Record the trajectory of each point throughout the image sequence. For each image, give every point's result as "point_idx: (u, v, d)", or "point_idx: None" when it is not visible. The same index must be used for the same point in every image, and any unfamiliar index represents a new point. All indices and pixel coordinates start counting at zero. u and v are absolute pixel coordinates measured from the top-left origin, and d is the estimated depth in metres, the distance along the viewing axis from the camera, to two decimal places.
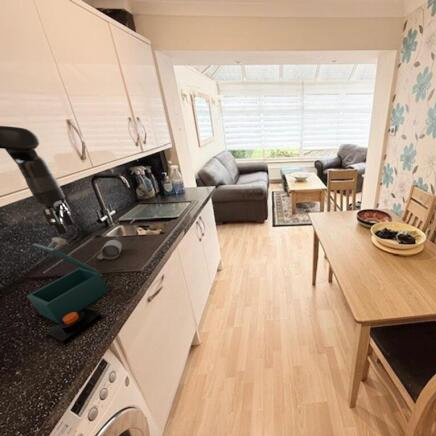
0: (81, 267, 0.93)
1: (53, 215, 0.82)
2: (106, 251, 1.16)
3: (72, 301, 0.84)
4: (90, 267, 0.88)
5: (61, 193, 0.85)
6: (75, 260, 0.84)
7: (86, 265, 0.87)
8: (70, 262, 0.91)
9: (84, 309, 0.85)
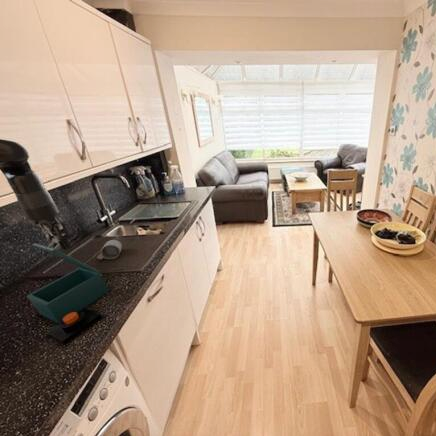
0: (81, 267, 0.93)
1: (65, 229, 0.80)
2: (106, 251, 1.16)
3: (72, 301, 0.84)
4: (90, 267, 0.88)
5: None
6: (75, 260, 0.84)
7: (86, 265, 0.87)
8: (70, 262, 0.91)
9: (84, 309, 0.85)
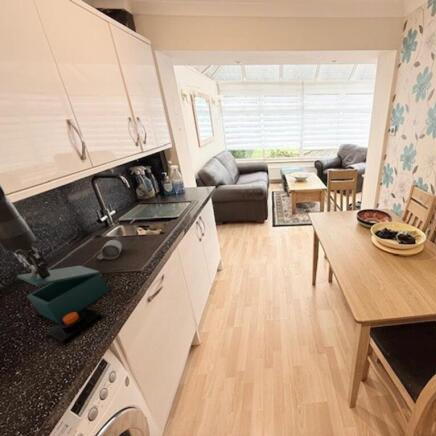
0: None
1: (43, 258, 0.76)
2: (106, 251, 1.16)
3: (72, 301, 0.84)
4: (87, 274, 0.88)
5: (33, 234, 0.77)
6: (67, 278, 0.82)
7: (81, 275, 0.86)
8: None
9: (84, 309, 0.85)
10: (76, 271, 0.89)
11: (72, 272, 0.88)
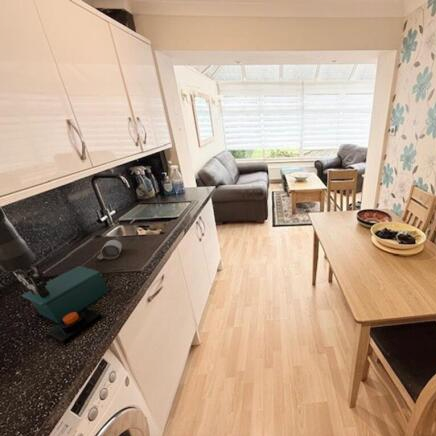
0: None
1: (42, 278, 0.76)
2: (106, 251, 1.16)
3: (72, 301, 0.84)
4: (87, 278, 0.88)
5: (32, 253, 0.78)
6: (69, 289, 0.83)
7: (82, 281, 0.87)
8: None
9: (84, 309, 0.85)
10: (76, 275, 0.90)
11: (73, 278, 0.88)
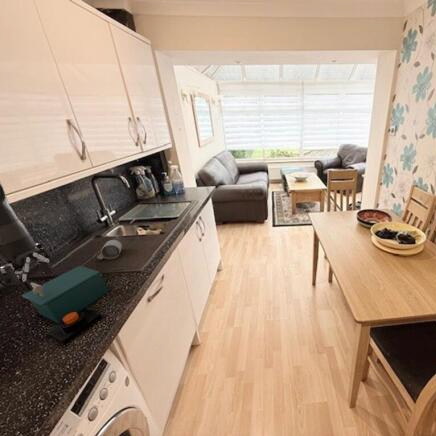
0: None
1: (9, 274, 0.65)
2: (106, 251, 1.16)
3: (72, 301, 0.84)
4: (87, 278, 0.88)
5: (27, 243, 0.69)
6: (69, 289, 0.83)
7: (82, 281, 0.87)
8: None
9: (84, 309, 0.85)
10: (76, 275, 0.90)
11: (73, 279, 0.88)
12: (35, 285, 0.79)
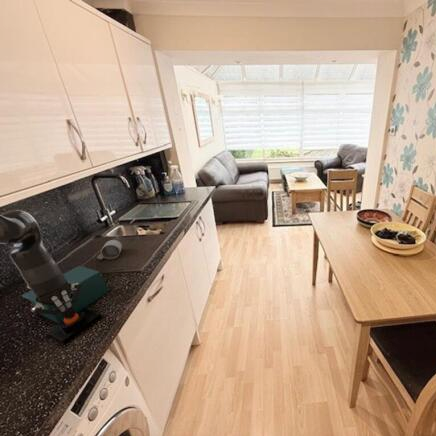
0: None
1: (42, 313, 0.71)
2: (106, 251, 1.16)
3: None
4: (87, 278, 0.88)
5: (51, 286, 0.70)
6: None
7: (82, 281, 0.87)
8: None
9: (84, 309, 0.85)
10: (76, 275, 0.90)
11: (73, 279, 0.88)
12: None
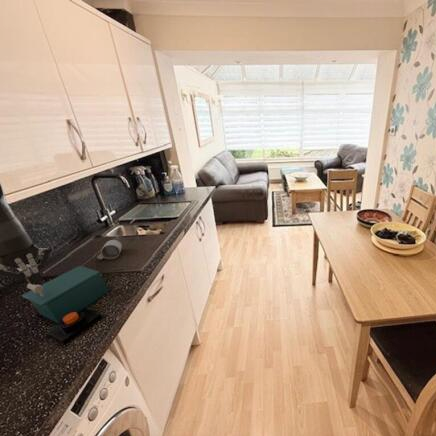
0: None
1: (4, 275, 0.67)
2: (106, 251, 1.16)
3: (72, 301, 0.84)
4: (87, 278, 0.88)
5: (14, 246, 0.66)
6: (69, 289, 0.83)
7: (82, 281, 0.87)
8: None
9: (84, 309, 0.85)
10: (76, 275, 0.90)
11: (73, 279, 0.88)
12: (35, 285, 0.79)
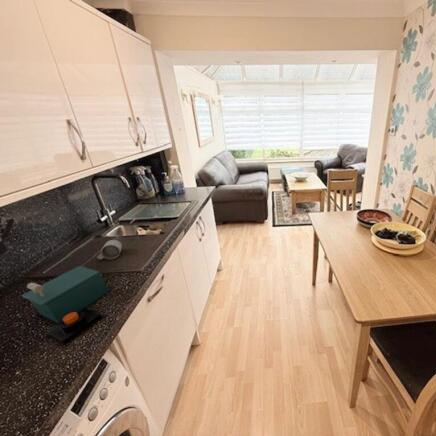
0: None
1: None
2: (106, 251, 1.16)
3: (72, 301, 0.84)
4: (87, 278, 0.88)
5: None
6: (69, 289, 0.83)
7: (82, 281, 0.87)
8: None
9: (84, 309, 0.85)
10: (76, 275, 0.90)
11: (73, 279, 0.88)
12: (35, 285, 0.79)
